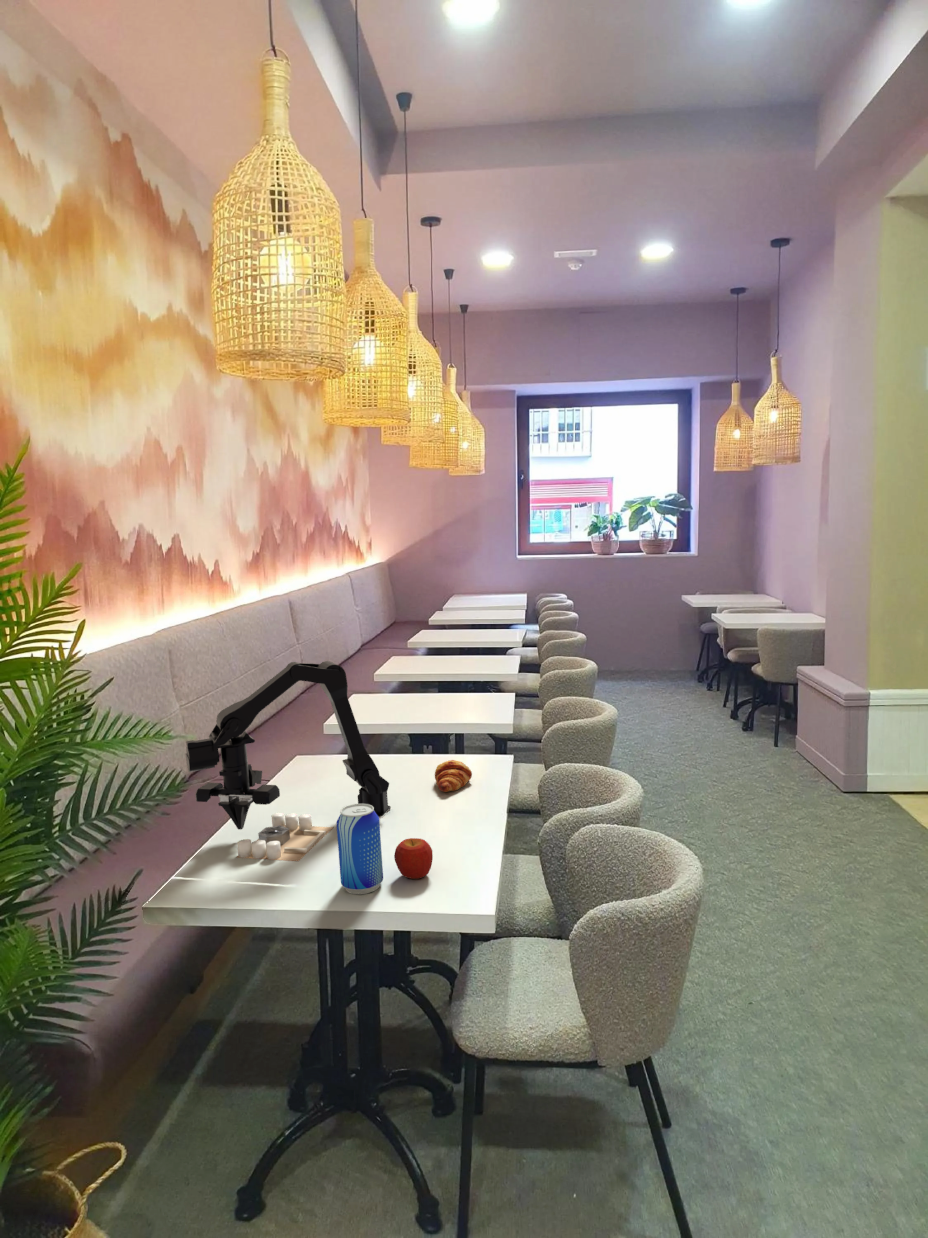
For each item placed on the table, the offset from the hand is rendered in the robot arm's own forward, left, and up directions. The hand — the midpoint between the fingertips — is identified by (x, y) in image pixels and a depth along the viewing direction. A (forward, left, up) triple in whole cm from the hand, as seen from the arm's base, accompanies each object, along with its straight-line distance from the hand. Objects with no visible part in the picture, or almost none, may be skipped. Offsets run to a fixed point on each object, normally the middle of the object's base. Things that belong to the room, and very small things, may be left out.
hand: (240, 828), depth 190 cm
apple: (-46, +12, -3) cm, 48 cm away
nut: (-8, 0, -2) cm, 9 cm away
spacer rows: (-9, 0, -2) cm, 9 cm away
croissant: (-39, -45, -3) cm, 59 cm away
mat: (-11, 0, -3) cm, 12 cm away
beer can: (-37, +18, -3) cm, 41 cm away
